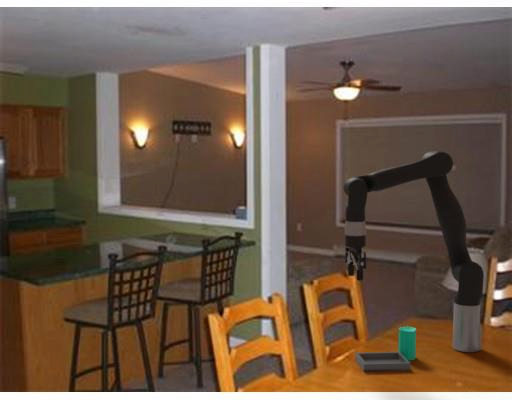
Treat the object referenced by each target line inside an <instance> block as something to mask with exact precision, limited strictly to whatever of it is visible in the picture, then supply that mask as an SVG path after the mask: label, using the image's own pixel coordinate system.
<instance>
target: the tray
mask: <svg viewBox="0 0 512 400" xmlns="http://www.w3.org/2000/svg"><path fill="white" fill-rule="evenodd" d="M354 356H355V357H354V360H355V362H356V363H357V365H358V366H359V367H360V368H361V370H362V371H363V372H364V373H365V372H367V373H368V372H396V371H397V372H401V371H405V370H409V371H411V370H412V367H411V365H412V364H411V362H410V360H407V359H406V358H405V357H404V356H403V355H402V354H401V353H400V352H398V351H378V352H375V351H374V352H367V351H366V352H355V353H354ZM405 372H406V371H405Z"/></svg>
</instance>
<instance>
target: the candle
mask: <svg viewBox="0 0 512 400" xmlns="http://www.w3.org/2000/svg"><path fill="white" fill-rule="evenodd" d="M406 325H407V326H403V327H399V328H398V350H397V352H400V353H401V354H402V355H403V356H404V357H405V358H406V359H407V360H408V361H413V360H416V351H417V350H416V349H417V346H416V345H417V328H416V327H412V326H408V325H409V324H406Z"/></svg>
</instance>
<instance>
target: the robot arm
mask: <svg viewBox="0 0 512 400" xmlns="http://www.w3.org/2000/svg"><path fill="white" fill-rule="evenodd" d="M453 166H454V161H453V157H452V156H451V155H450V154H449V153H447V152H445V151H441V150H434V151H428V152H426V153H425V154H424V155H423V156H422V158H421V160H418V161H415V162H412V163H408V164H407V163H406V164H403V165H397V166H392V167H388V168H384V169H380V170H376V171H374V172H371V173H368V174H362V175H358V176H354V177H351V178H348V179H346V180H345V182H344V184H343V191H344V193H345V195H346V196H348V198H347V205H346V207H345V216H344V217H345V221H344V223H345V224H344V246H345V248H344V249H345V250H344V253H345V254H344V263H345V264H346V266H347V276H349V277H353V276H355V267H356V280H357V281H359V282H360V281H363V280H364V270H366V269H367V253H366V251H363V250H362V248H365V247H366V246H367V227H366V206H367V198H368V194H369V193H371V192H380V191H384V190H387V189H390V188H394V187H397V186H400V185H404V184H406V183H410V182H412V181H417V180H422V179H425V180H426V183H427V185H428V188H429V191H430V195H431V198H432V202H433V206H434V208H435V212H436V213H435V214H436V216H437V222H438V224H439V228H440V231H441V234H442V237H443V240H444V243H445V246H446V249H447V253H448V258H449V265H450V271H451V274H452V277H453V279H454V280H456V281H457V282H458V286H457V293H456V294H454V295H453V317H452V318H453V319H452V320H453V321H452V323H453V324H452V348H453V350H455V351H457V352H458V351H459V352H463V353H474V352H476V353H477V352H479V351H482V328H483V327H482V324H480V318H481V317H480V315H481V313H480V311H481V300H482V297H483V293H484V275H485V274H484V270H483V267H482V266H481V264H479V263H478V262H476V261H473V260H472V258H471V255H470V253H469V250H468V246H467V240H466V239H467V222H466V217H465V214H464V211H463V207H462V206H461V204H460V202H459V200H458V199H457V196H456V195H455V193H454V192H453V190H452V188H451V186H450V184H449V181H448V176H447V175H448V174H449V173H450V171H451V172H452V169H453Z"/></svg>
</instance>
